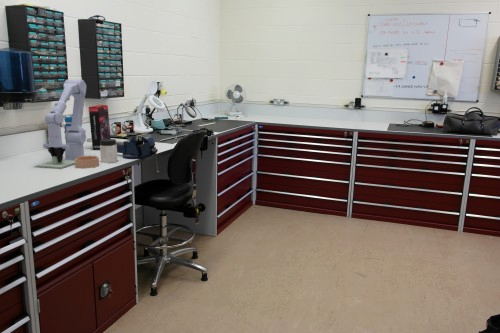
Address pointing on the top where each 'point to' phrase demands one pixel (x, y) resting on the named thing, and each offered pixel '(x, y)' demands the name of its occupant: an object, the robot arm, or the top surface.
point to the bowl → (87, 162)
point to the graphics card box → (99, 124)
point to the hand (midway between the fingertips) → (57, 161)
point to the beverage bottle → (67, 124)
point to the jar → (108, 150)
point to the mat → (55, 168)
